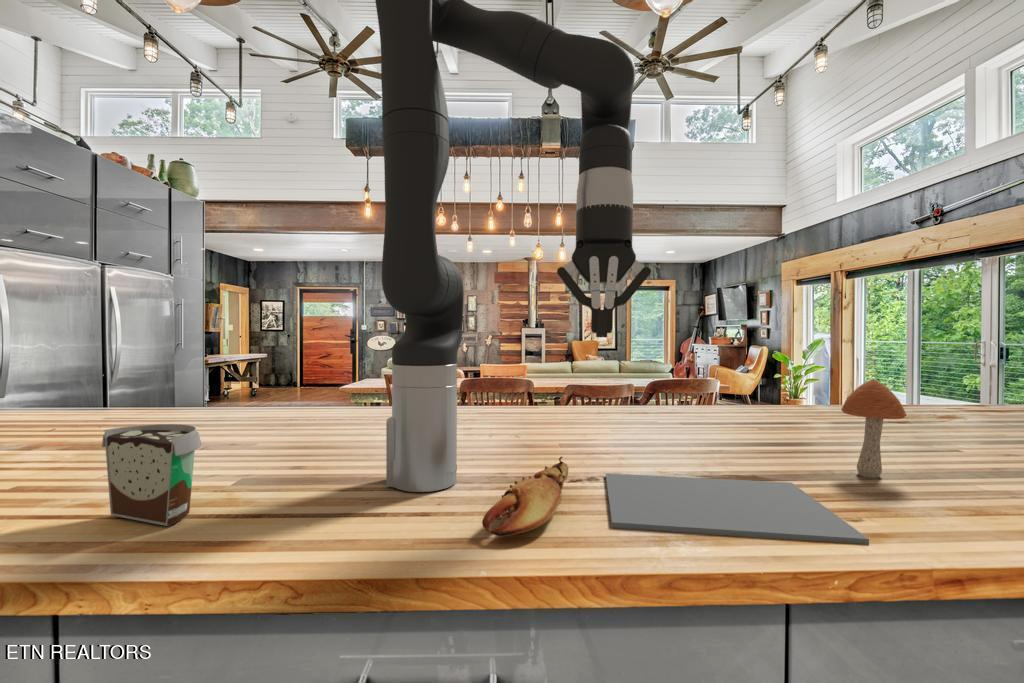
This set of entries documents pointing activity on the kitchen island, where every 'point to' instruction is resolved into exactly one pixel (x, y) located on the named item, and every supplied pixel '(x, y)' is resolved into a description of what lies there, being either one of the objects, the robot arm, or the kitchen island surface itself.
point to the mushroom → (872, 421)
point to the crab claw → (528, 502)
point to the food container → (151, 471)
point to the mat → (723, 508)
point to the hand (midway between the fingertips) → (601, 337)
